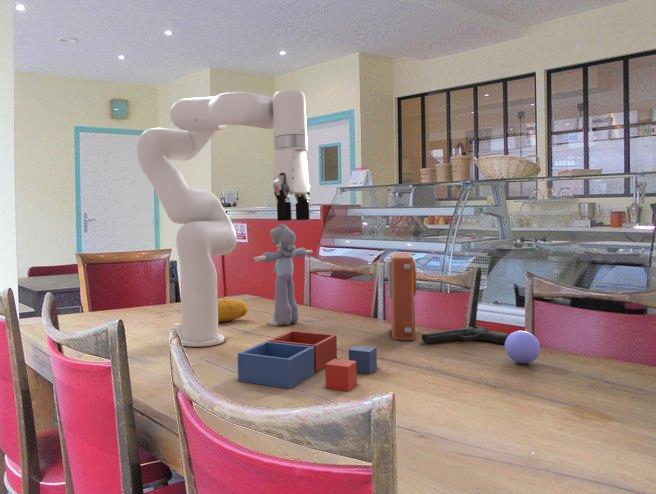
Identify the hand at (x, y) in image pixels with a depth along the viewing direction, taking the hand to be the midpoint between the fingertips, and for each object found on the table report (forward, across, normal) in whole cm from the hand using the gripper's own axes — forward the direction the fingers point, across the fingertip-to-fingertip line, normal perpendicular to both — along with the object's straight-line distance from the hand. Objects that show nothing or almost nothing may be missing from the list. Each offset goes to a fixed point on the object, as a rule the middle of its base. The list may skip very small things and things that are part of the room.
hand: (294, 220), depth 131 cm
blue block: (+32, +2, +16) cm, 36 cm away
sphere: (+33, -18, +45) cm, 59 cm away
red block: (+32, +14, +15) cm, 39 cm away
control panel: (+32, -35, +14) cm, 50 cm away
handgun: (+33, -33, +31) cm, 56 cm away
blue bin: (+32, +14, +1) cm, 35 cm away
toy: (+31, -37, -22) cm, 53 cm away
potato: (+31, -33, -40) cm, 60 cm away
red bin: (+32, +2, +2) cm, 32 cm away
